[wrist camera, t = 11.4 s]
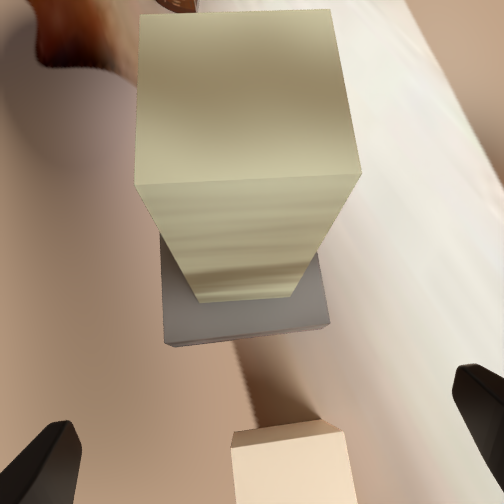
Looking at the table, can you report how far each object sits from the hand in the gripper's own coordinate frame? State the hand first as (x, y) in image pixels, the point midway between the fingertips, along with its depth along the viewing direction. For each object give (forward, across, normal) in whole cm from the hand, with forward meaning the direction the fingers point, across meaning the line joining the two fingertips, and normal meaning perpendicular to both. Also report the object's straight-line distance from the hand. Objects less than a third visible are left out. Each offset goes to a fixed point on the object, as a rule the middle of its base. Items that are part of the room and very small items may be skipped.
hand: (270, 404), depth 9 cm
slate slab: (+15, 0, +5) cm, 16 cm away
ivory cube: (+6, -1, +13) cm, 14 cm away
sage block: (+13, 0, +3) cm, 13 cm away
